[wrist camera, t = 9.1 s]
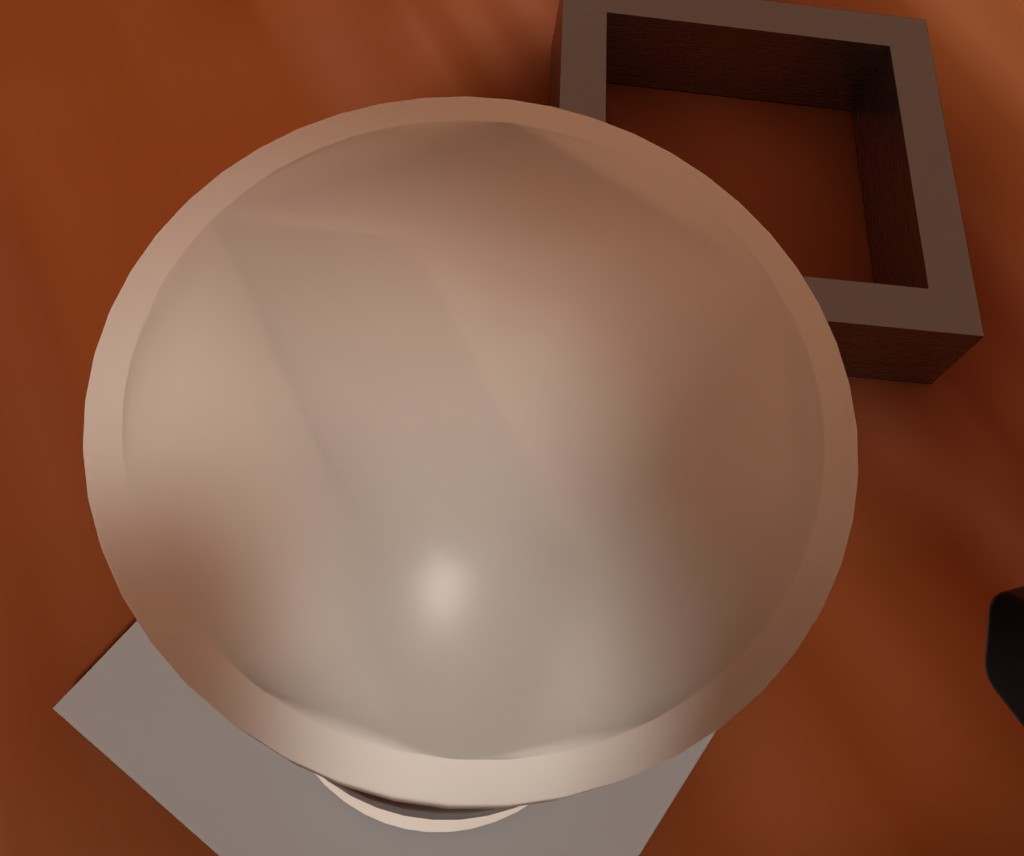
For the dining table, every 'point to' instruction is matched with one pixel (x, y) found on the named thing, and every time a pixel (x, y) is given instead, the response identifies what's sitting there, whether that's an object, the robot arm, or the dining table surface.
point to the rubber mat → (317, 780)
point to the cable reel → (470, 454)
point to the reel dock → (824, 83)
